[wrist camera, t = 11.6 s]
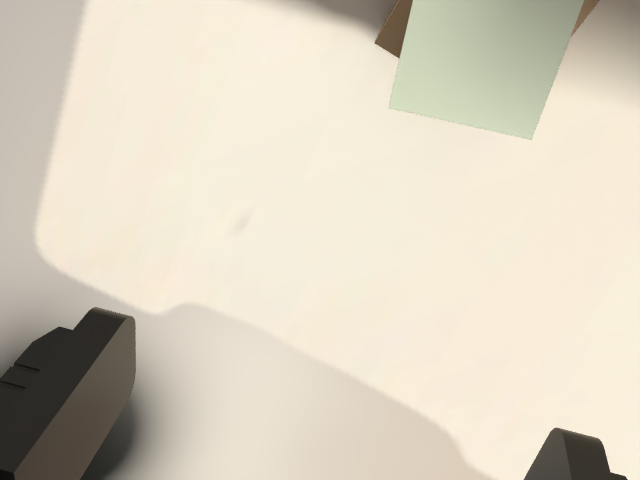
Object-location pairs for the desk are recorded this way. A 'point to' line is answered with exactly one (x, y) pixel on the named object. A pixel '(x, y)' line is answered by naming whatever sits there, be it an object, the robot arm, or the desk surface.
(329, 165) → the desk surface
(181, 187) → the desk surface
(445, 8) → the sage cube
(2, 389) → the robot arm
